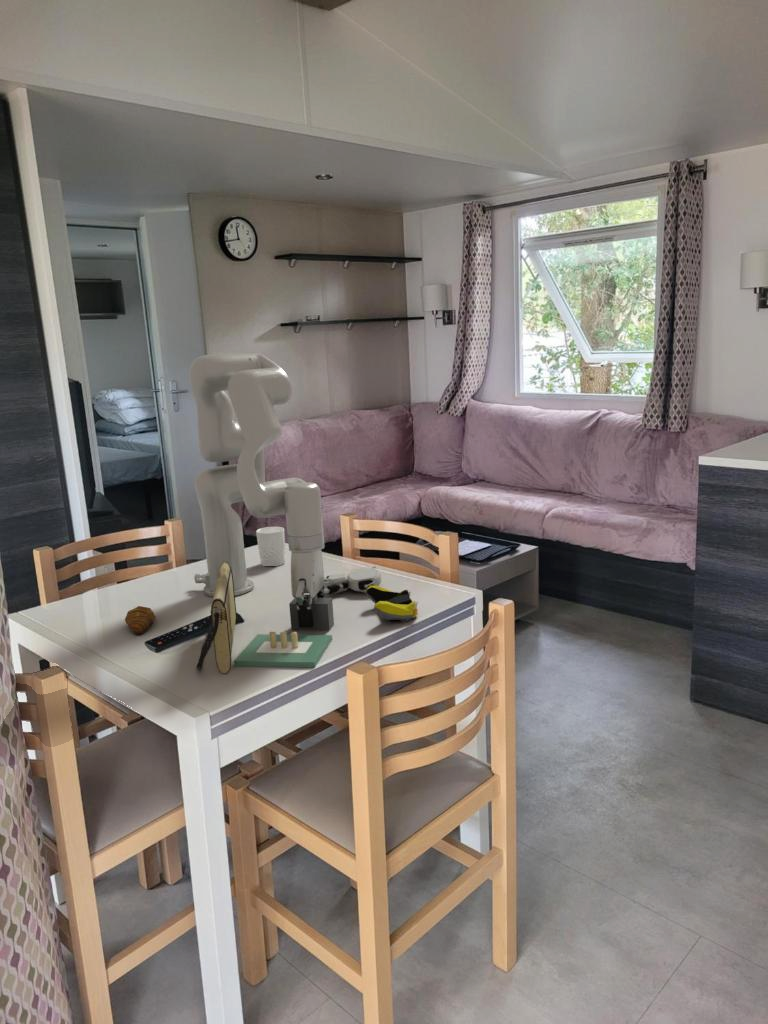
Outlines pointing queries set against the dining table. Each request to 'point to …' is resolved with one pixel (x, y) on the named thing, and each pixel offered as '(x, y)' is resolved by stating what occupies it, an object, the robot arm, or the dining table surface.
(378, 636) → the dining table surface
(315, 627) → the block
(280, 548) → the white cup
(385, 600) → the yellow black shoe
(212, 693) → the dining table surface
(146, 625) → the croissant
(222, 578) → the clutch purse
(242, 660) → the pin board
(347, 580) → the robot toy
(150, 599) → the dining table surface
